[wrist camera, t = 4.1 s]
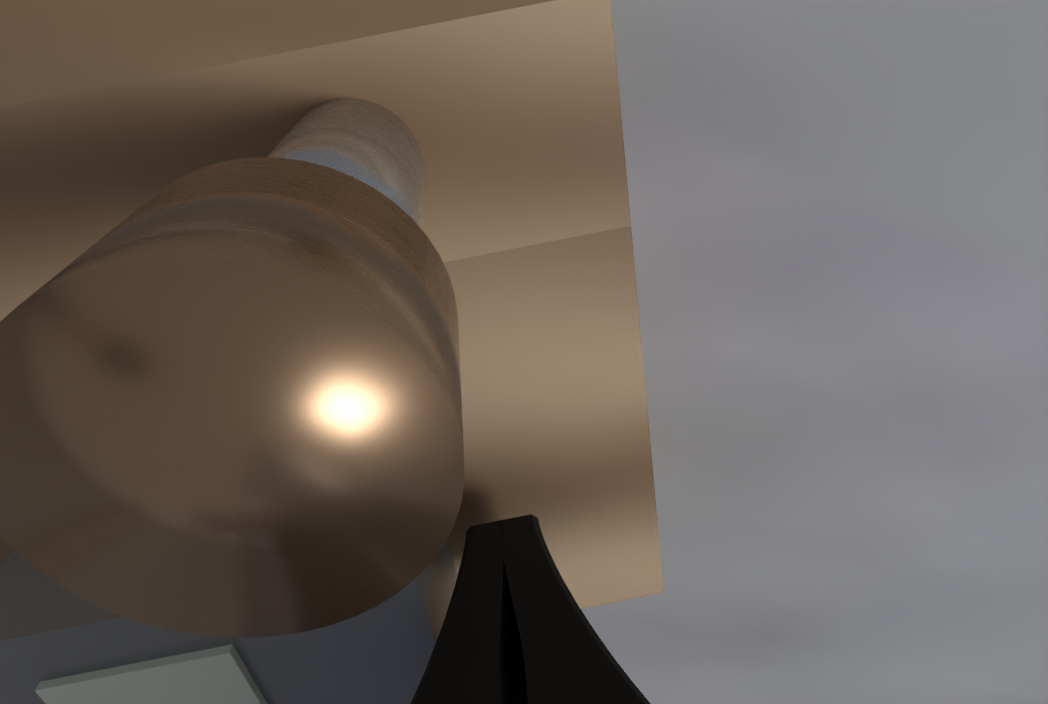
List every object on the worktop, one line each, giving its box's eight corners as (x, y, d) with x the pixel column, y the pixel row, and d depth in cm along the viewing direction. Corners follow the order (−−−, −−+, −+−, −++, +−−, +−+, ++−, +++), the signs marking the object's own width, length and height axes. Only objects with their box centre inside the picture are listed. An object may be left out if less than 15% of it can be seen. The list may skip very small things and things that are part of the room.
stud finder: (469, 615, 15) (475, 758, 12) (158, 675, 15) (94, 833, 12) (415, 438, 13) (407, 569, 10) (41, 510, 13) (-71, 662, 10)
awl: (468, 239, 11) (502, 591, 5) (294, 273, 11) (105, 670, 5) (427, 49, 9) (398, 208, 3) (226, 88, 9) (-168, 319, 3)
